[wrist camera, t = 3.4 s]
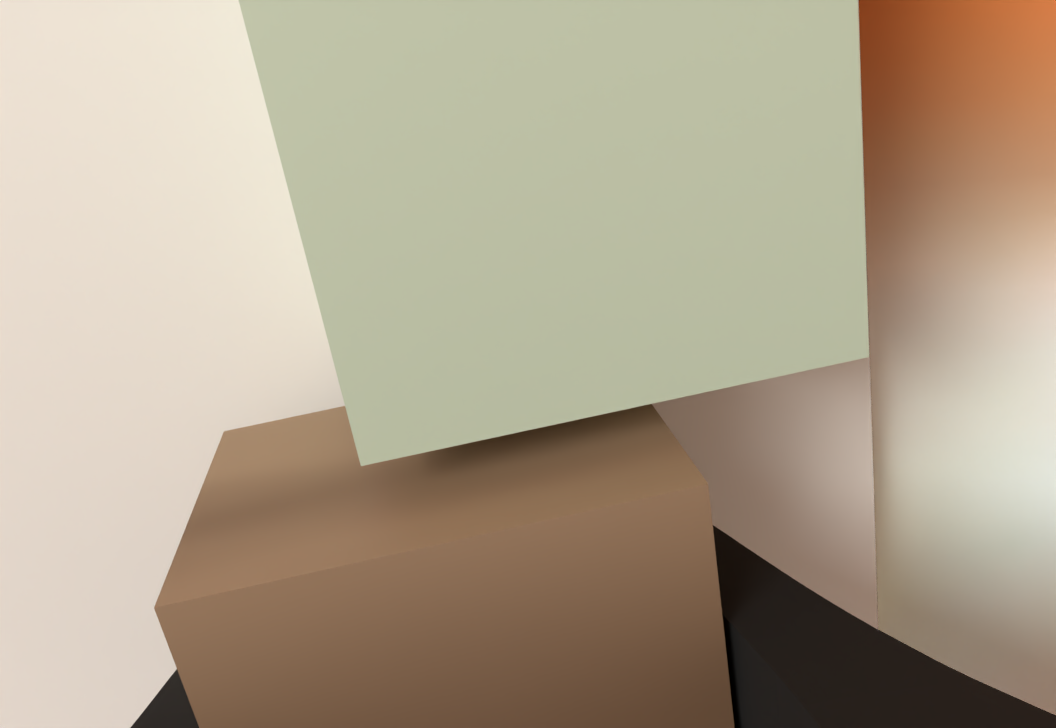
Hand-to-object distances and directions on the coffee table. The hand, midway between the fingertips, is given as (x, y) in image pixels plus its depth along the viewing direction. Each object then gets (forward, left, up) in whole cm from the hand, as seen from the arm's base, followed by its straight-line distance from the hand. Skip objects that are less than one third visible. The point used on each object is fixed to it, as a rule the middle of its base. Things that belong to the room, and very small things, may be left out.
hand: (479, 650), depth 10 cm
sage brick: (+6, -2, -1) cm, 6 cm away
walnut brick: (0, 0, -1) cm, 1 cm away
